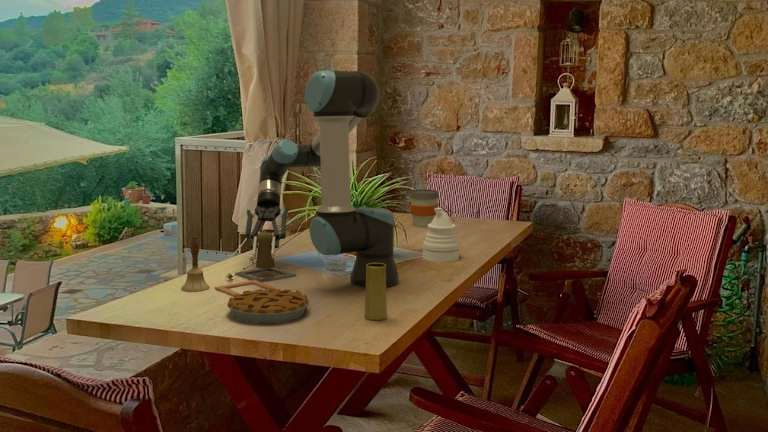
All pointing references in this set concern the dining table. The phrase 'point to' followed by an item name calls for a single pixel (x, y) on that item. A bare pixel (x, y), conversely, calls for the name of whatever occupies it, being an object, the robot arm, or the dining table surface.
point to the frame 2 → (245, 275)
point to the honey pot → (441, 239)
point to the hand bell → (195, 271)
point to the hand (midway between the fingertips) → (263, 255)
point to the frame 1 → (226, 287)
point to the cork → (264, 251)
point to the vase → (375, 292)
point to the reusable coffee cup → (423, 206)
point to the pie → (268, 305)
